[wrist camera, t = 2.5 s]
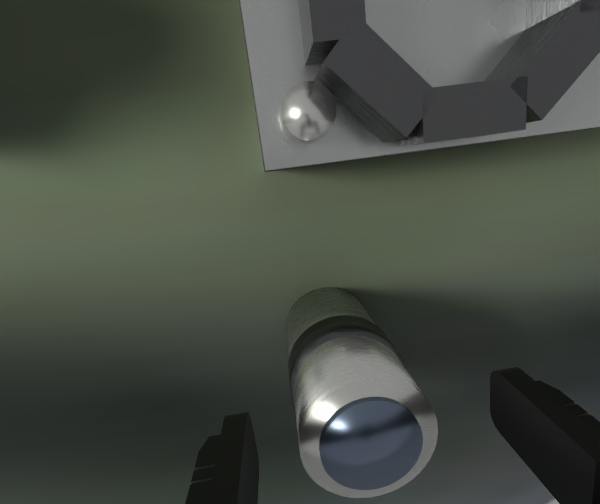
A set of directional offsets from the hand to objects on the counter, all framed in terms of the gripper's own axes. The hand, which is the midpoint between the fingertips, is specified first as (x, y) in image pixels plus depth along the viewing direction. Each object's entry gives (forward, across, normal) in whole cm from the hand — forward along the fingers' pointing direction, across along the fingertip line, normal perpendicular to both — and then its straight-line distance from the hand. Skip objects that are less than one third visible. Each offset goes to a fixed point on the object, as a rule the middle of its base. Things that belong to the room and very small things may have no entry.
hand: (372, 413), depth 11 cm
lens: (+7, 0, 0) cm, 7 cm away
